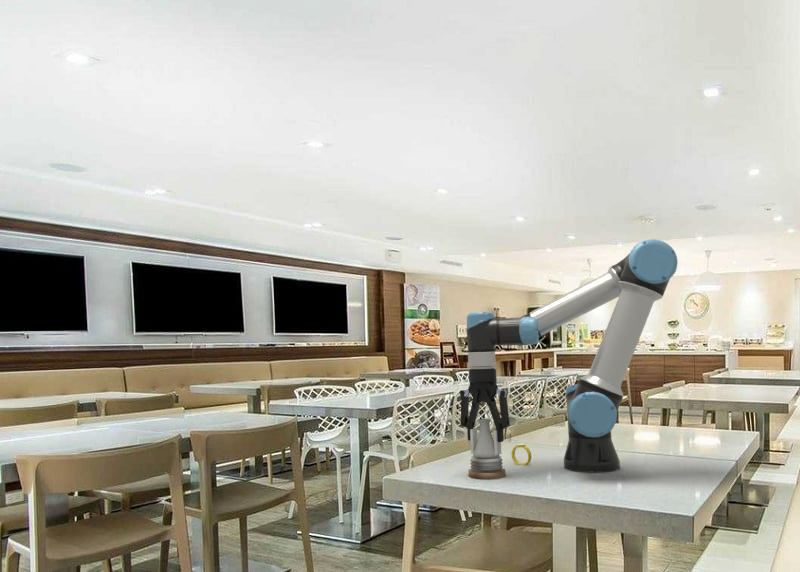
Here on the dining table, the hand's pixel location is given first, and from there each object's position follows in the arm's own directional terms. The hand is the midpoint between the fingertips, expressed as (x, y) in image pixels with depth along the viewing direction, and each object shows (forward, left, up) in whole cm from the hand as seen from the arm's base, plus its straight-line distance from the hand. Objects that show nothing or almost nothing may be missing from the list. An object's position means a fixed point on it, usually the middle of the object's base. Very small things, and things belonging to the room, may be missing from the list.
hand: (486, 453), depth 176 cm
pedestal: (0, 0, -6) cm, 6 cm away
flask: (0, 0, -1) cm, 1 cm away
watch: (-2, -20, -6) cm, 21 cm away
